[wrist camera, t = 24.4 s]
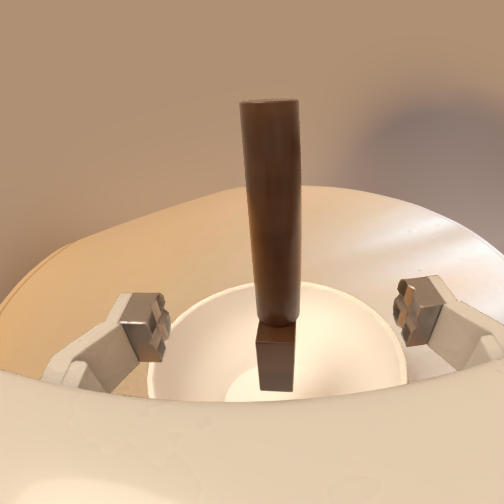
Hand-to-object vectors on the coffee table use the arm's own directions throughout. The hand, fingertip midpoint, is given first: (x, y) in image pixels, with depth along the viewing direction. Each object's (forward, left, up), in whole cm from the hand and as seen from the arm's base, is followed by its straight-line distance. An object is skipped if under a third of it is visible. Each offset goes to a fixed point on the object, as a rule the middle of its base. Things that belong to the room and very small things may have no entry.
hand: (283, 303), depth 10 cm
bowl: (+6, -3, -18) cm, 20 cm away
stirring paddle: (+5, -3, -11) cm, 13 cm away
